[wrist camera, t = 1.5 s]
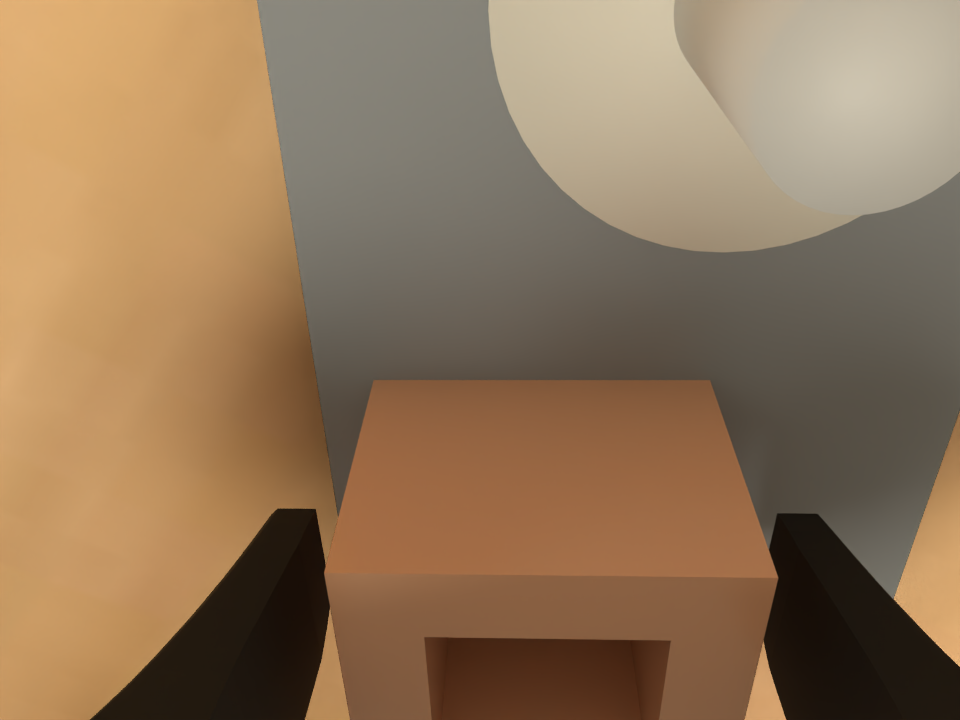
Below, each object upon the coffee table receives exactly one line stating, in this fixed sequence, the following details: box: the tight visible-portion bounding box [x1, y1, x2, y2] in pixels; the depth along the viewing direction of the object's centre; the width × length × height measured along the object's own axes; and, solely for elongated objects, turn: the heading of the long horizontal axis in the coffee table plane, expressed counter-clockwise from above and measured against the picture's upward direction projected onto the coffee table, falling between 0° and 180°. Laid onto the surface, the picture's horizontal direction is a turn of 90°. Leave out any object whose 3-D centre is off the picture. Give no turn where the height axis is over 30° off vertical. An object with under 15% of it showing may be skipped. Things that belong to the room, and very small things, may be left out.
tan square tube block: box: [324, 380, 778, 720], centre depth 13 cm, size 5×5×4 cm
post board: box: [257, 0, 960, 599], centre depth 11 cm, size 14×10×5 cm
